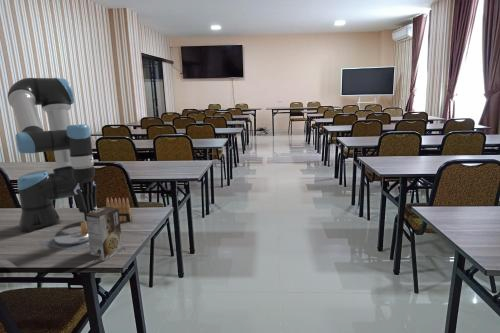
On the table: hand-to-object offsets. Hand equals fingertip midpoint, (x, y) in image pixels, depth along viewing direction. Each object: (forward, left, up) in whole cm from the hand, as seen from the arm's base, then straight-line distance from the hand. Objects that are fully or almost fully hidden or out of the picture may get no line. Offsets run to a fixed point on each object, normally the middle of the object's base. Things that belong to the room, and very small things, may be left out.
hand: (90, 228), depth 130 cm
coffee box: (+13, -6, -6) cm, 16 cm away
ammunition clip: (-4, +19, -6) cm, 20 cm away
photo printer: (-14, +13, -6) cm, 20 cm away
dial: (-6, -2, -4) cm, 7 cm away
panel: (-6, -2, -6) cm, 8 cm away
